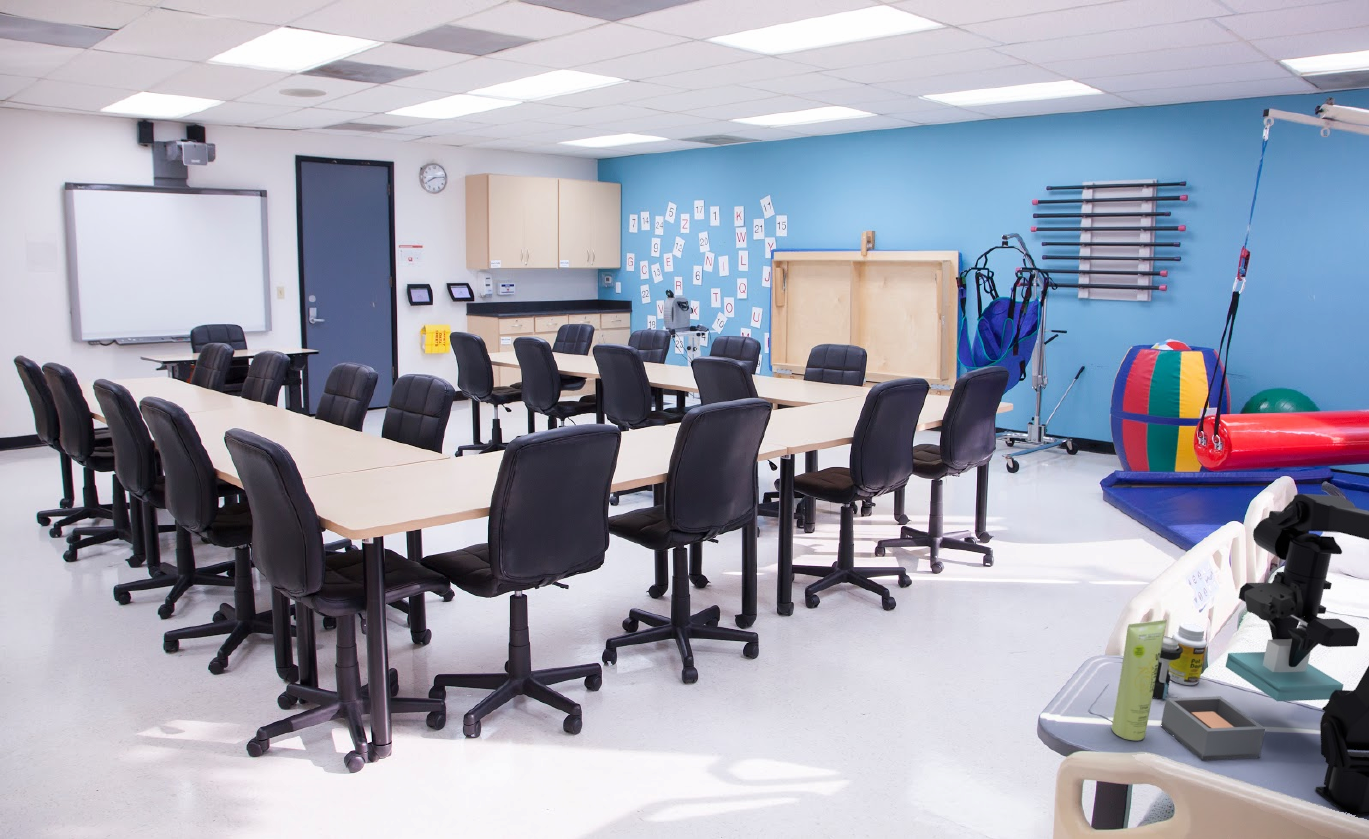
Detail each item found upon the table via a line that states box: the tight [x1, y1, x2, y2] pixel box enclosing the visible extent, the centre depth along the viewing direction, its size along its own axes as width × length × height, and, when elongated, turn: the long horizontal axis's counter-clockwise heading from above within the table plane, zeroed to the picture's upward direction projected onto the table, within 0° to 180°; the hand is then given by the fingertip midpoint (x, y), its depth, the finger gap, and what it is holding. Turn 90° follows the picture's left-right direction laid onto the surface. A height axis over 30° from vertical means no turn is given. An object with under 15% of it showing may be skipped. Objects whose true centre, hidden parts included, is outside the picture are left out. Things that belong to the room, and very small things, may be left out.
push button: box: [1152, 635, 1183, 701], centre depth 171 cm, size 7×5×10 cm
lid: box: [1225, 639, 1344, 702], centre depth 158 cm, size 11×11×7 cm
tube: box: [1111, 618, 1167, 741], centre depth 155 cm, size 6×5×20 cm
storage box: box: [1160, 695, 1266, 762], centre depth 156 cm, size 10×10×5 cm
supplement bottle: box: [1168, 622, 1208, 686], centre depth 177 cm, size 6×6×10 cm
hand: (1285, 662), depth 158 cm, fingers closed on lid, 2 cm apart
